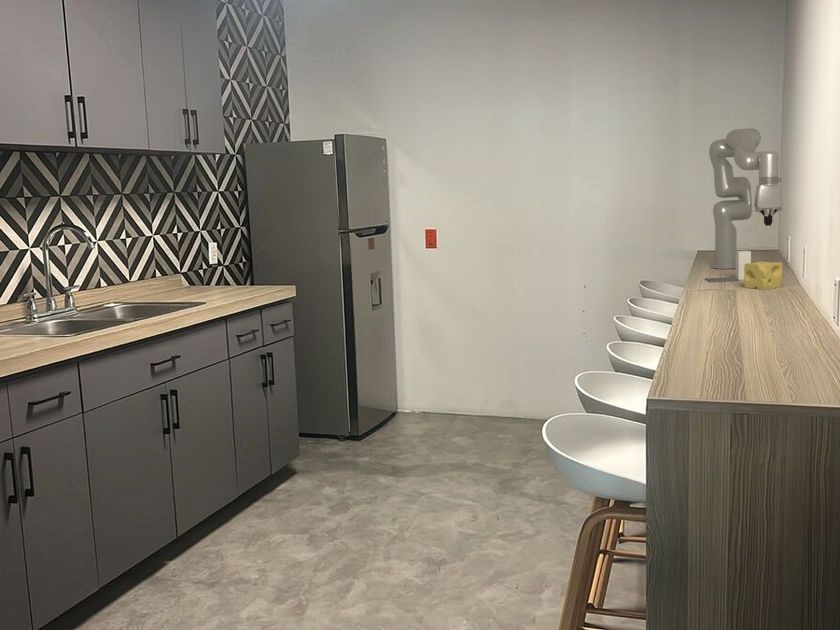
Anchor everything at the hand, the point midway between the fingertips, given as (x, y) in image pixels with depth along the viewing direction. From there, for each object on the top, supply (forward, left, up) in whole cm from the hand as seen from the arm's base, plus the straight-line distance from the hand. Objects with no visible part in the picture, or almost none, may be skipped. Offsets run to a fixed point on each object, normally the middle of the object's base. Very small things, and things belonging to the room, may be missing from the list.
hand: (768, 225), depth 358 cm
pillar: (0, -10, -23) cm, 25 cm away
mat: (0, -19, -23) cm, 29 cm away
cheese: (+25, -9, -23) cm, 35 cm away
